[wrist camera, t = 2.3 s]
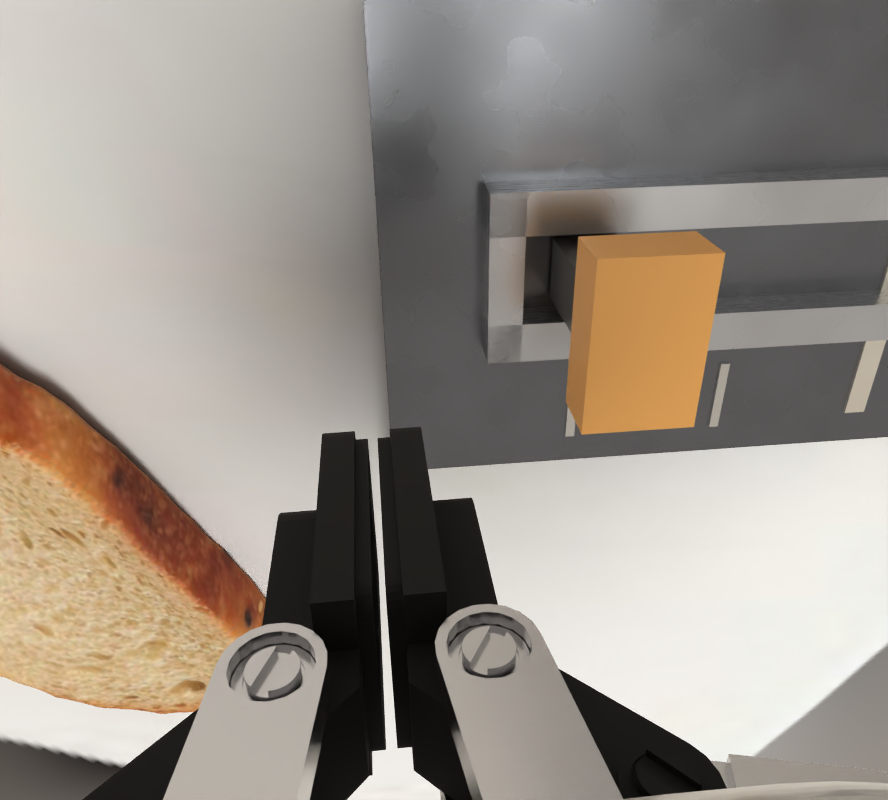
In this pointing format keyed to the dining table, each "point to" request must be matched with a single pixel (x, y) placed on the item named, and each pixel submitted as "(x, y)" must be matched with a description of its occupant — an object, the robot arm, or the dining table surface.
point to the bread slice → (104, 569)
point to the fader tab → (636, 326)
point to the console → (630, 208)
